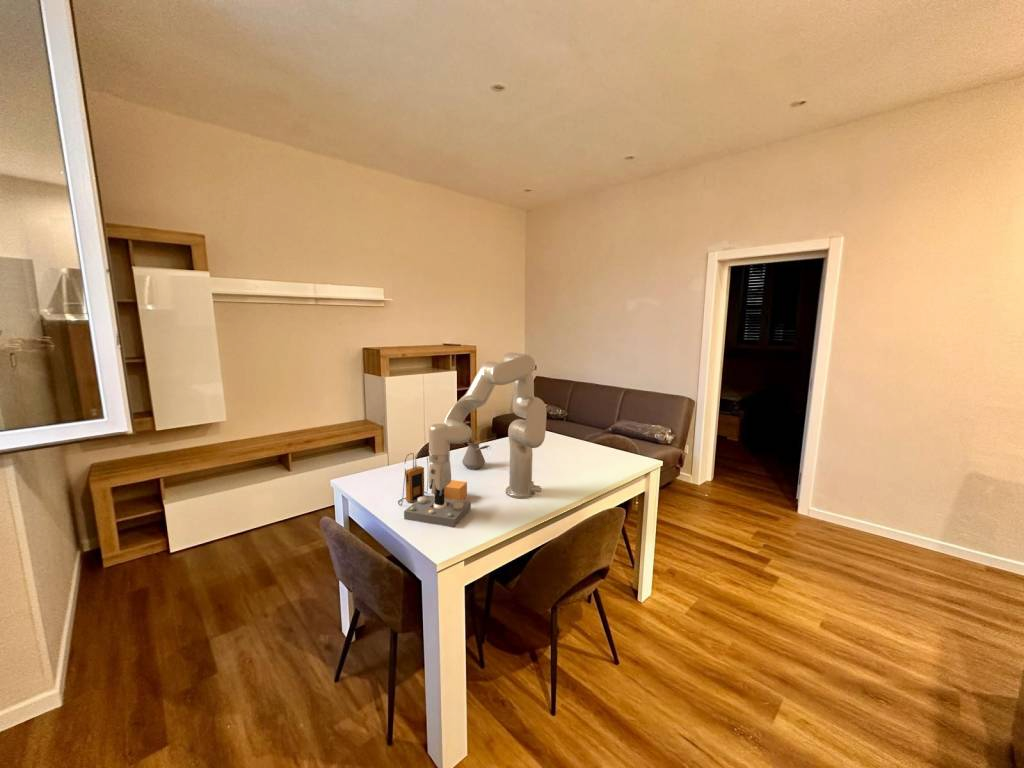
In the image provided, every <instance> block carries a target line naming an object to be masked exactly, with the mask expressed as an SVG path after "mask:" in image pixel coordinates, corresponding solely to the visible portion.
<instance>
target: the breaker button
mask: <svg viewBox="0 0 1024 768" xmlns="http://www.w3.org/2000/svg"><path fill="white" fill-rule="evenodd" d="M446 507H447V503H446V502H444V504H443V505H436V504H435V503H434V508H439V509H445V508H446Z"/></svg>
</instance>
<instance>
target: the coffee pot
mask: <svg viewBox="0 0 1024 768" xmlns="http://www.w3.org/2000/svg"><path fill="white" fill-rule="evenodd" d="M480 443H481V441H480V440H472V439H471V440H469V441H467V442H466V444H467V449H466V452H465V454H464V456H463V458H462V460H461V462H462V464H463V466H464V467H465V468H466V469H468V470H478V469H479V470H480V469H481V468H482V467H483V466H484V465H485V464H486V459H485V458H484V455H483V453H482V451H481V450H484V449H486V450H491V448H492V447H490V445H483V446H481V447H480ZM488 448H489V449H488Z"/></svg>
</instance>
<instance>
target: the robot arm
mask: <svg viewBox="0 0 1024 768" xmlns="http://www.w3.org/2000/svg"><path fill="white" fill-rule="evenodd" d="M500 360H501V361H500V362H498V361H489V360H488V361H486V362H483V363H482V364H481V365H480V367H479V368H478V371H477V373H476V375H475V376H474V379H473V380H472V382H471V384H470V385H469V388H468V390H467V391H466V392H465V394H464V395H463V396H462V397H460V399H459V400H458V401H457V402H455V404H454V405H453V406H452V407H451V408H450V410H449V412H448V413H447V415H446V417H445V419H444V421H443V423H432V424H431V425H430V426H429V428H428V453H429V454H428V463H429V466H428V488H429V489H430V490H431V492H430V494H432V495H434V497H435V504H436V505H443V504H444V494H443V493H445V487H446V486H447V485H448V484H450V482H451V480H452V468H451V456H450V444H456V445H457V444H459V445H460V444H466V443H467V442H468V441H471V438H472V436H473V432H472V428H471V427H470V426H469V425H468V424H467V423H464V421H465V419H466V417H468V415H469V414H470V413H471V412H472V411H474V410H476V409H479V408H480V407H483V406H484V405H486V403H487V402H488V400H489V398H490V396H491V394H492V392H494V388H495V387H496V386H505V385H508V384H512V385H513V387H512V389H513V390H512V391H513V392H512V393H513V394H512V412H513V413H514V414H515V415H516V416H518V417H520V418H518V419H515V420H513V421H511V423H510V424H509V426H508V430H507V436H508V443H509V486H507V487H506V488H505V494H506V495H507V496H509V497H511V498H516V499H526V498H527V499H528V498H531V497H533V496H534V495H535V494H536V492H537V493H542V487H541V486H540V485H535V482H534V481H533V449H537V448H539V447H541V446H542V445H543V443H544V441H545V438H546V431H547V430H546V428H547V415H548V414H547V412H548V411H547V407H546V404H545V402H544V401H543V400H542V399H541V398H539V397H537V396H535V393H534V392H535V382H534V381H535V380H534V377H533V375H532V373H533V372H534V371H535V368H536V362H535V361H536V360H535V359H534V358H533V357H532V356H531V355H530V354H527V353H525V354H524V353H518V352H506V353H504V354H503V355H502V357H501V359H500ZM521 418H523V419H521Z"/></svg>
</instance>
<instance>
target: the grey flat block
mask: <svg viewBox="0 0 1024 768" xmlns="http://www.w3.org/2000/svg"><path fill="white" fill-rule="evenodd" d="M444 502H446V503H447V507H446V508H445V509H439V508H434V503H435V495H434V496H432V495H425V494H424V496H422V497H418V500H416V501H414V503H412V504H411V505H410V506H409V507H407V508H406V509H405V510H404V511H403V519H404V520H407V521H408V520H409V521H414V522H420V523H426V524H432V525H438V526H443V527H451V528H455V527H456V526H457V525H458V524H459V523H460V522H461V521H462V520H463V519H464V517H465V516H466V515H467V514H468V513H469V512H470V511H471V510H472V505H471V504H472V502H471V501H466V500H462V501H461V500H454V499H447V498H444Z"/></svg>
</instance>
